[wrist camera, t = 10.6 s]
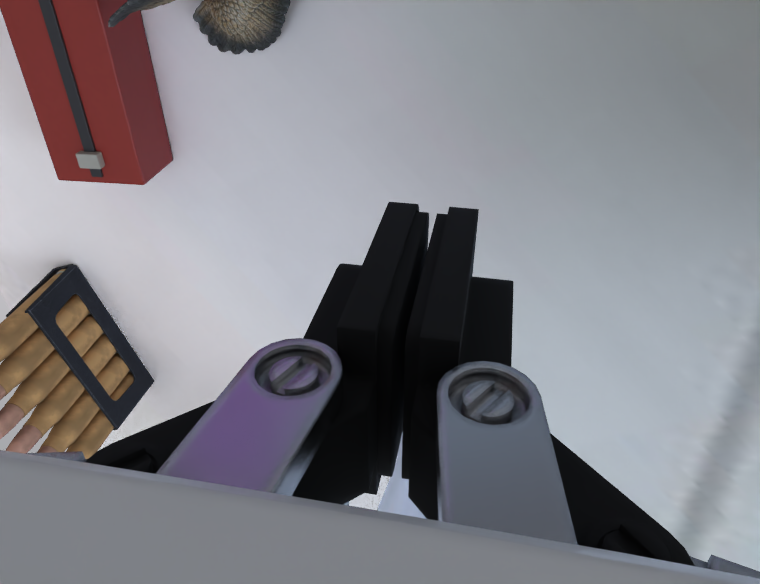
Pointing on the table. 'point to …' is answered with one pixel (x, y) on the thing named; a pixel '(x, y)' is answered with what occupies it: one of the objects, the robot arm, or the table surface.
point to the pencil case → (90, 88)
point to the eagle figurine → (226, 21)
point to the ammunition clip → (66, 368)
